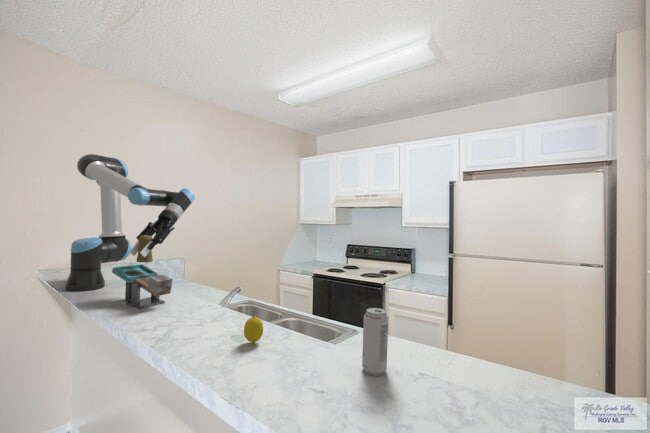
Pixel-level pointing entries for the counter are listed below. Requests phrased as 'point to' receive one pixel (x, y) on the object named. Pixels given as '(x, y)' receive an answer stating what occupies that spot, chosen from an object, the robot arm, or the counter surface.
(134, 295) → the beam stand
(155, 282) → the balance beam
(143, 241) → the olive chess piece
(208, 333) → the counter surface
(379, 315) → the energy drink can
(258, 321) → the lemon
